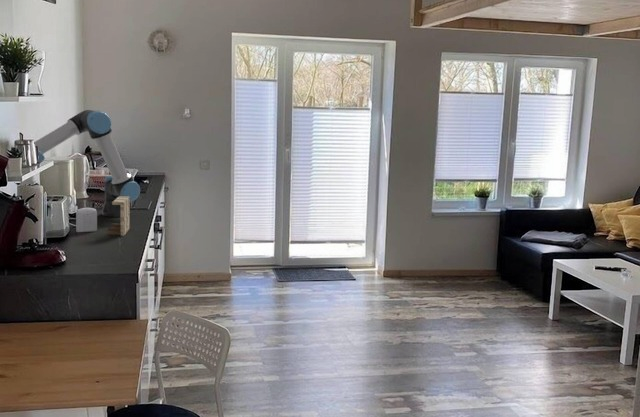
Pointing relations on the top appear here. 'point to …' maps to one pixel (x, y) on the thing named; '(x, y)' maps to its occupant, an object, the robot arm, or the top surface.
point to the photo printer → (86, 220)
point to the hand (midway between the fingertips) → (65, 220)
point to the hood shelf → (125, 217)
